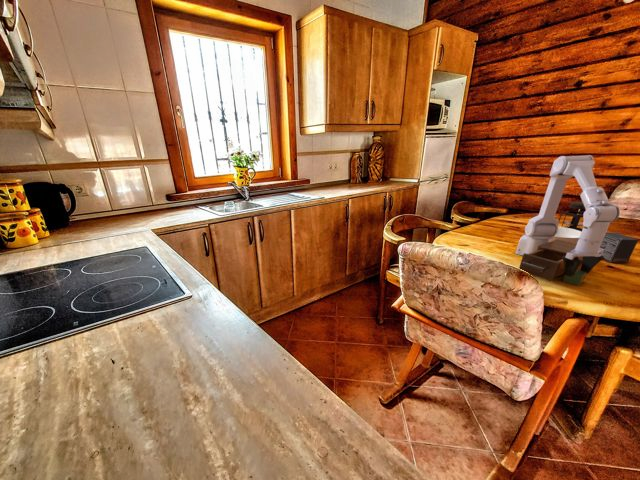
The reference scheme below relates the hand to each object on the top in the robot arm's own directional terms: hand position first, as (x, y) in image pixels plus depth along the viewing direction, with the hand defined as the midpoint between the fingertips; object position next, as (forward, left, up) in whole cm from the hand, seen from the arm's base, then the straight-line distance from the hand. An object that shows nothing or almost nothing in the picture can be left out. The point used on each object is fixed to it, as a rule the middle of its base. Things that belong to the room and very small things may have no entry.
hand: (576, 274), depth 103 cm
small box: (-3, +38, -3) cm, 38 cm away
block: (0, 0, -3) cm, 3 cm away
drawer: (-9, -3, -2) cm, 10 cm away
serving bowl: (-24, +40, -3) cm, 47 cm away
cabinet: (-9, +11, -3) cm, 15 cm away
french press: (-27, +63, -3) cm, 69 cm away
